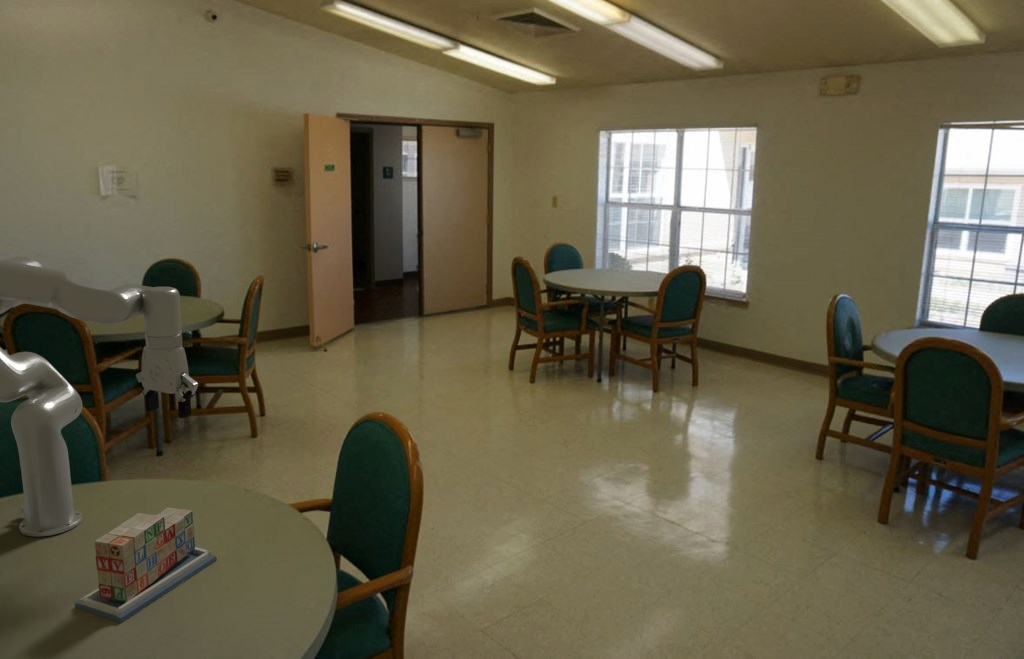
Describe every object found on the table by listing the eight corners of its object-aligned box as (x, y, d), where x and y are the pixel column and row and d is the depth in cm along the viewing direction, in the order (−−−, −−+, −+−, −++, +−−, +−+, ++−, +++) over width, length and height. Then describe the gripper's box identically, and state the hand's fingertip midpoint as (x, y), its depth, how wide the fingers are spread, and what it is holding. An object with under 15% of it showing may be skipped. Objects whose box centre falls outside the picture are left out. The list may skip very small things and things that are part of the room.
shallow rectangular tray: (75, 607, 145) (74, 598, 144) (174, 548, 167) (173, 540, 167) (121, 622, 140) (120, 613, 140) (216, 560, 163) (216, 552, 163)
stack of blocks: (170, 545, 165) (167, 493, 162) (195, 549, 164) (192, 497, 161) (98, 597, 145) (93, 540, 142) (126, 603, 143) (122, 544, 141)
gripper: (121, 340, 168) (127, 412, 171) (181, 349, 162) (185, 424, 165) (148, 333, 175) (153, 403, 178) (206, 342, 169) (210, 414, 172)
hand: (168, 413), depth 172 cm, fingers open, 9 cm apart
